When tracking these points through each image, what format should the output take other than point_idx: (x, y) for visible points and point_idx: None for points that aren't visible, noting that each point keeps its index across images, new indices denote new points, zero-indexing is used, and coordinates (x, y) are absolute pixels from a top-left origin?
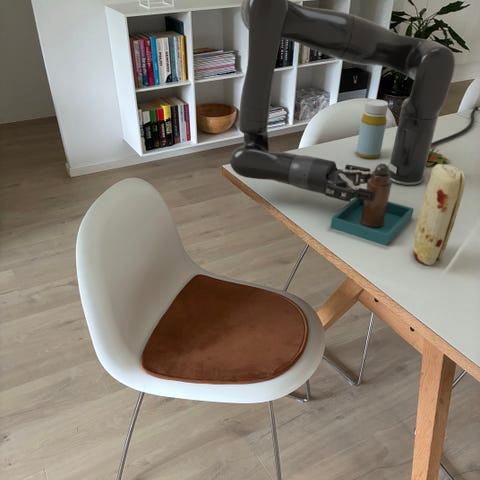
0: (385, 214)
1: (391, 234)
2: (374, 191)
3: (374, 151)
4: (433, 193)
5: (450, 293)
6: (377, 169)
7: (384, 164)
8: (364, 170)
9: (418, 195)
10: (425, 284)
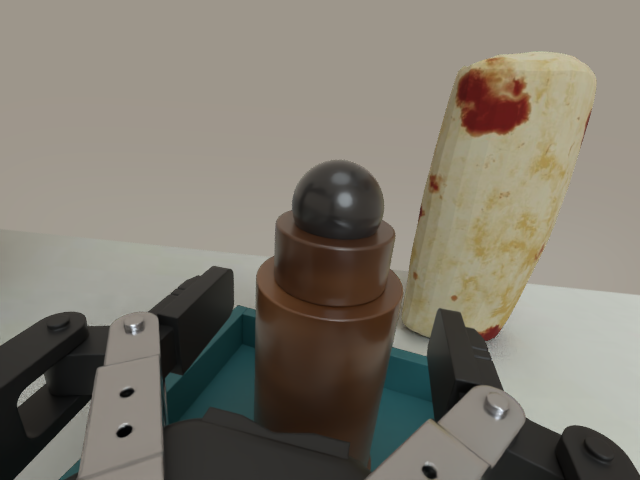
0: (214, 405)
1: None
2: (441, 308)
3: None
4: (578, 133)
5: (548, 305)
6: (372, 201)
7: (340, 160)
8: (59, 350)
9: (43, 315)
10: (564, 335)
